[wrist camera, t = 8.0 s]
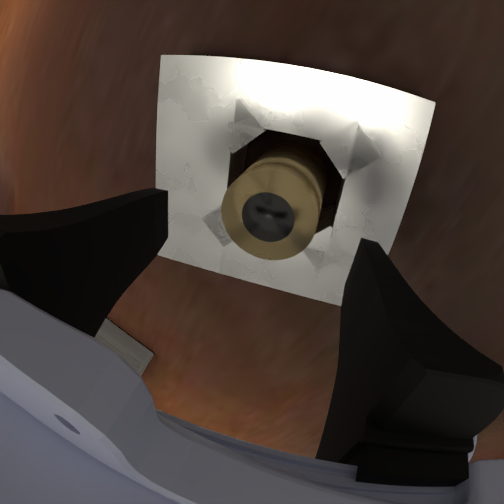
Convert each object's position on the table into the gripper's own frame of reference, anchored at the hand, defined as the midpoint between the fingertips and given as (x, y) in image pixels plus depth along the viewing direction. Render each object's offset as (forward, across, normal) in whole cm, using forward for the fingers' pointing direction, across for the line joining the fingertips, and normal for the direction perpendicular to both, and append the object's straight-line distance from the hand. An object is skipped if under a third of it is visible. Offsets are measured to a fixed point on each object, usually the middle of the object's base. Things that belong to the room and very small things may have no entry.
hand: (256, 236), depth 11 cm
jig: (+8, 0, 0) cm, 8 cm away
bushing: (+8, 0, 0) cm, 8 cm away
